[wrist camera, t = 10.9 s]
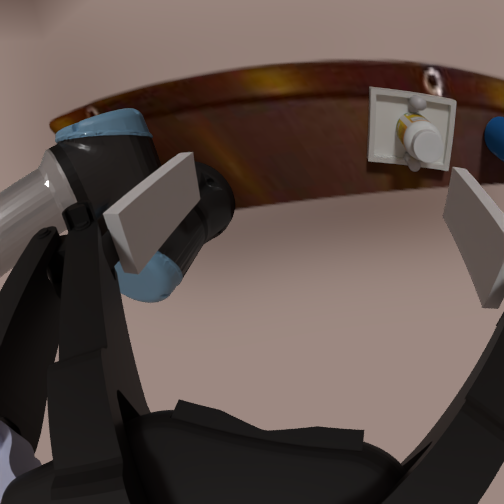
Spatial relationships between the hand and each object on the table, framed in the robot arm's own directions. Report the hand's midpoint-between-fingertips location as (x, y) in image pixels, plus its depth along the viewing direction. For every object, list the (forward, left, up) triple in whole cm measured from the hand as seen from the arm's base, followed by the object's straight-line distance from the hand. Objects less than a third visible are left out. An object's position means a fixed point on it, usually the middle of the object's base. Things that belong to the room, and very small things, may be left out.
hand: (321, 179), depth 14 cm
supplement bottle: (+12, -4, -32) cm, 34 cm away
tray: (+12, -4, -33) cm, 35 cm away
